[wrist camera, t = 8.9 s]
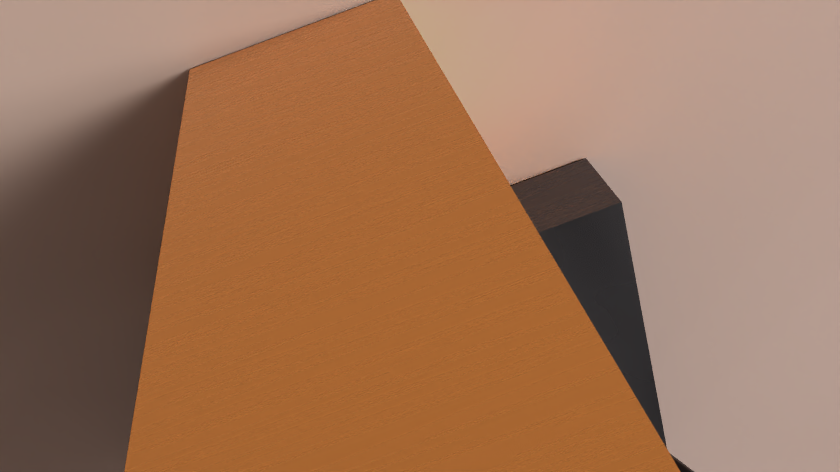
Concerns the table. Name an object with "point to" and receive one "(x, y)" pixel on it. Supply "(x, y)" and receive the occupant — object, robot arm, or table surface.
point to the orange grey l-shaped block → (382, 280)
